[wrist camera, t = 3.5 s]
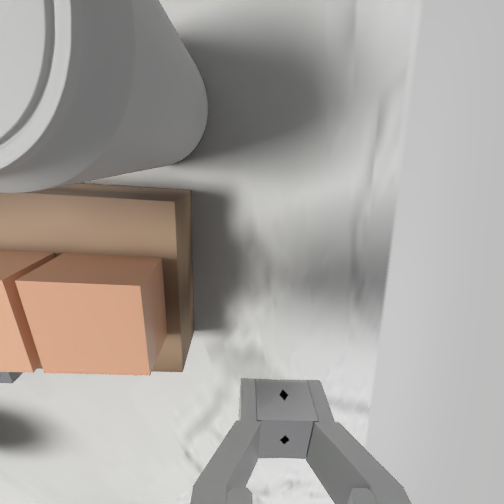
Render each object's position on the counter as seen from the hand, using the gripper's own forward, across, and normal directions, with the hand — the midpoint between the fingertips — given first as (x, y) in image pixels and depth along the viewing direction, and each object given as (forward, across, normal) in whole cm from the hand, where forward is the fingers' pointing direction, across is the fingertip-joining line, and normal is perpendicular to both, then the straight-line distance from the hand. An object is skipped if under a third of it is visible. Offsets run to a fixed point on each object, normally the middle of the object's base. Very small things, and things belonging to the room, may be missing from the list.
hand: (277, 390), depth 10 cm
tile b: (+5, +8, 0) cm, 10 cm away
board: (+9, +11, 0) cm, 14 cm away
